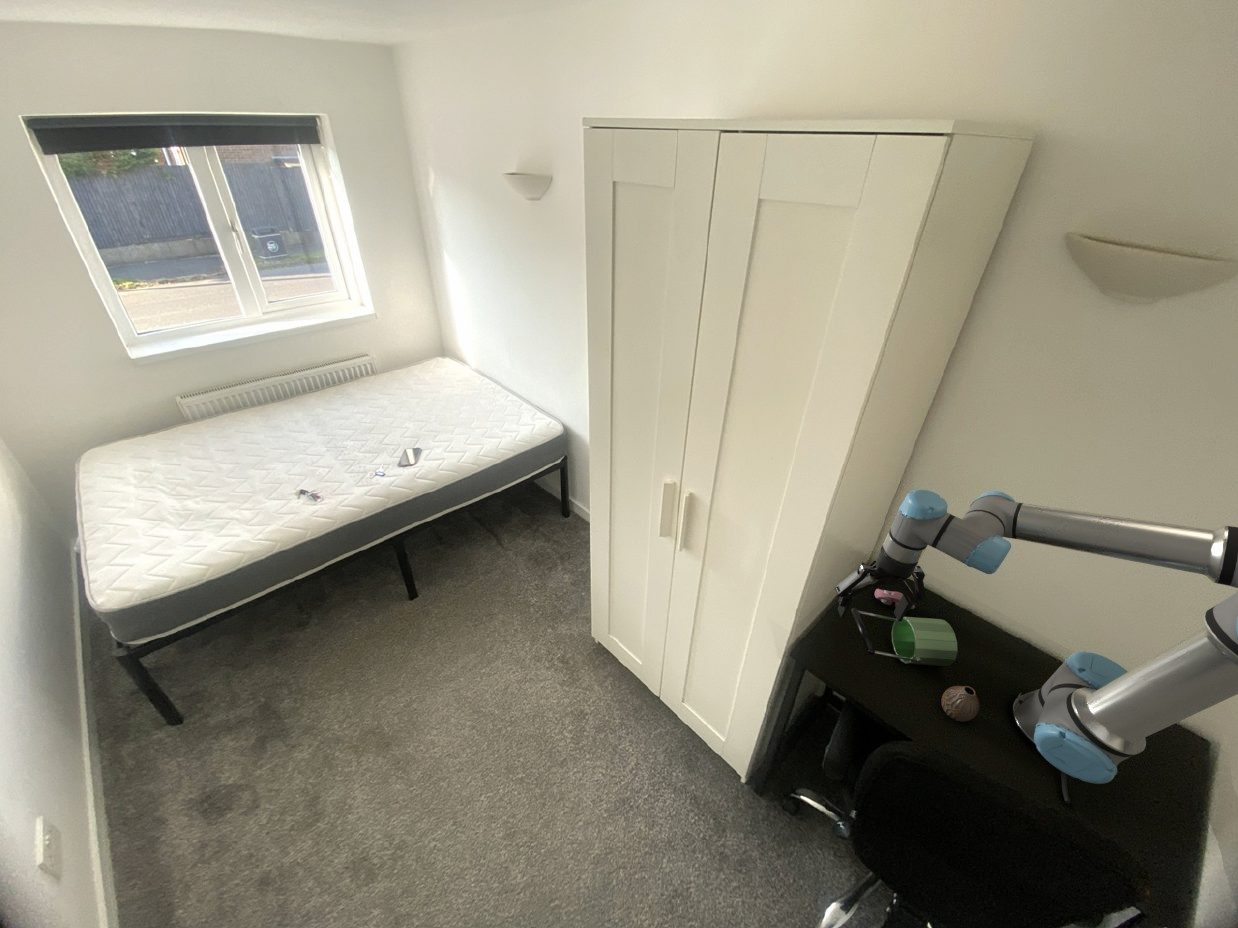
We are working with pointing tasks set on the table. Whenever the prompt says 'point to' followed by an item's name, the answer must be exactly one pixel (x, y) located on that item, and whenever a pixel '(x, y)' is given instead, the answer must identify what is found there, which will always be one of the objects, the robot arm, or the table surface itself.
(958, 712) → the vase
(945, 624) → the bucket
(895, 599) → the video game controller
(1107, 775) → the robot arm
